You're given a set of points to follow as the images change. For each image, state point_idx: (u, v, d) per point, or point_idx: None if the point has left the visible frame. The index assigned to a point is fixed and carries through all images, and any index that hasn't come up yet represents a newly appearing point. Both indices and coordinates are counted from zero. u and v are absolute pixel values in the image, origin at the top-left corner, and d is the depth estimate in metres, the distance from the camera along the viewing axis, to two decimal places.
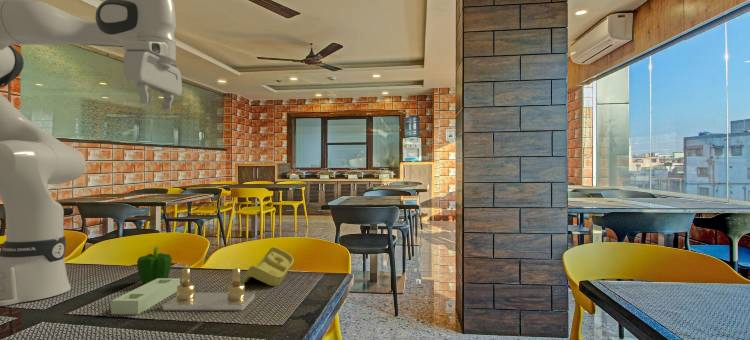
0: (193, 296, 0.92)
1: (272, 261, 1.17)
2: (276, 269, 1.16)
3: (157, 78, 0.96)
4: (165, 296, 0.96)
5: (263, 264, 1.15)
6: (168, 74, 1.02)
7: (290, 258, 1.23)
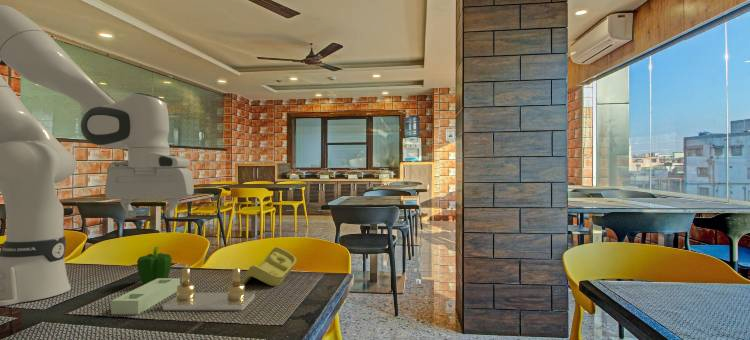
0: (193, 296, 0.92)
1: (274, 261, 1.17)
2: (278, 269, 1.16)
3: None
4: (165, 296, 0.96)
5: (265, 264, 1.15)
6: None
7: (293, 258, 1.23)
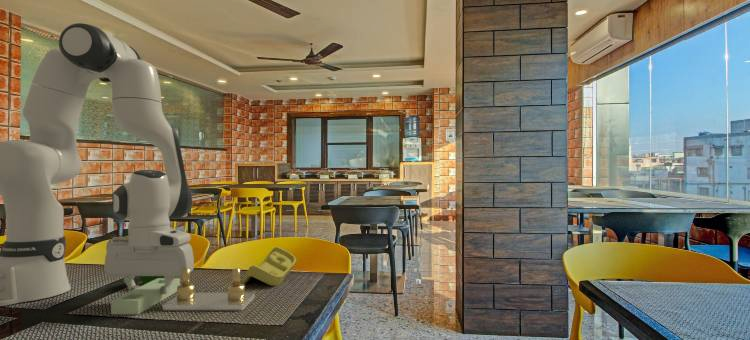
0: (193, 296, 0.92)
1: (274, 261, 1.17)
2: (278, 269, 1.16)
3: None
4: (165, 296, 0.96)
5: (265, 264, 1.15)
6: None
7: (292, 258, 1.23)
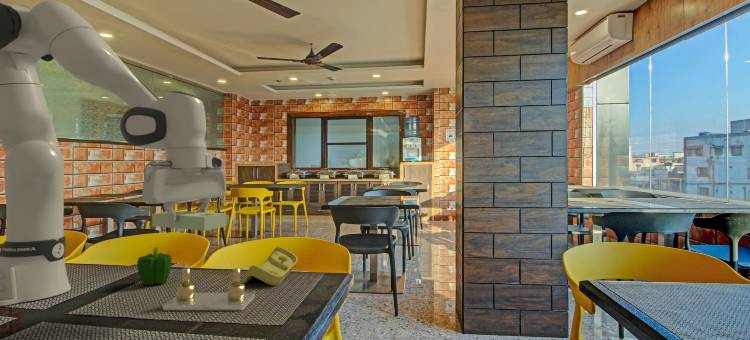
0: (193, 296, 0.92)
1: (275, 261, 1.17)
2: (279, 269, 1.16)
3: None
4: None
5: (266, 263, 1.16)
6: None
7: (294, 258, 1.23)
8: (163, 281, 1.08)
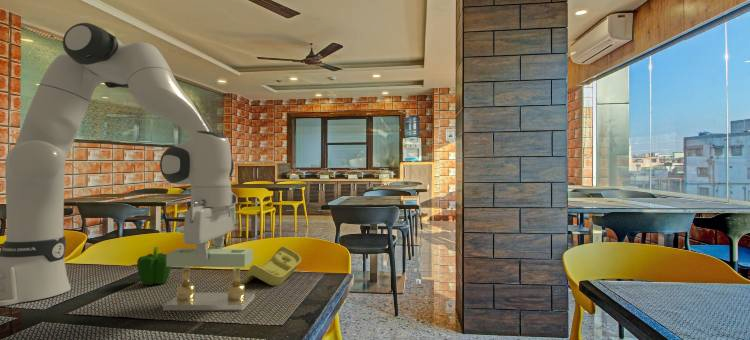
0: (193, 296, 0.92)
1: (278, 260, 1.17)
2: (281, 269, 1.16)
3: None
4: None
5: (269, 263, 1.16)
6: None
7: (298, 258, 1.23)
8: (163, 281, 1.08)
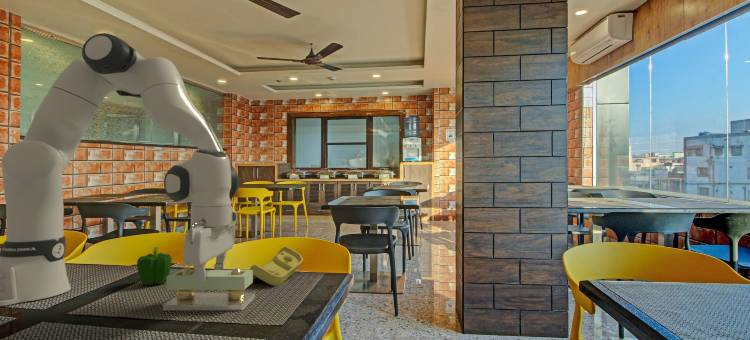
0: (193, 296, 0.92)
1: (280, 260, 1.18)
2: (283, 269, 1.16)
3: None
4: None
5: (270, 263, 1.16)
6: None
7: (300, 258, 1.23)
8: (163, 281, 1.08)
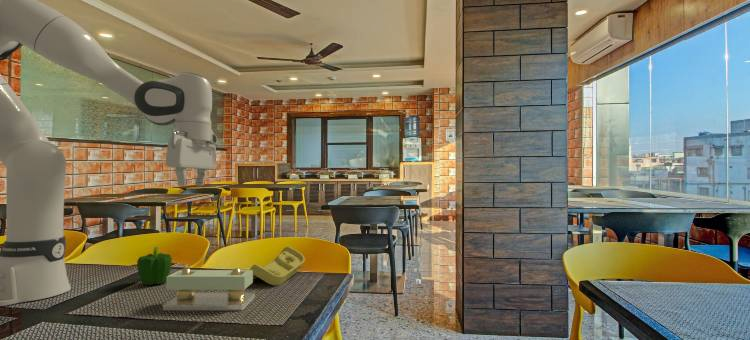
0: (193, 296, 0.92)
1: (281, 260, 1.18)
2: (284, 269, 1.16)
3: None
4: None
5: (272, 263, 1.16)
6: None
7: (302, 258, 1.22)
8: (163, 281, 1.08)
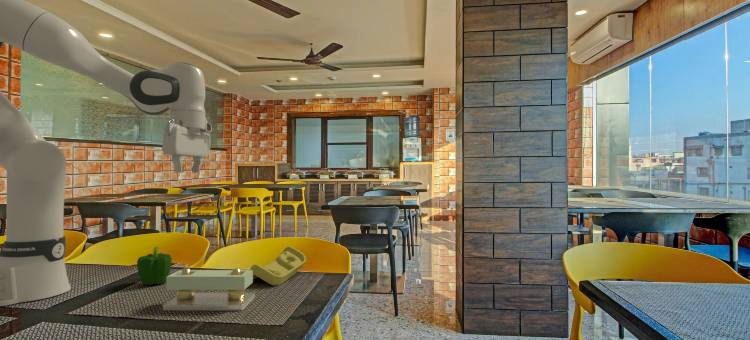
0: (193, 296, 0.92)
1: (282, 260, 1.18)
2: (285, 268, 1.16)
3: None
4: None
5: (273, 263, 1.16)
6: None
7: (303, 258, 1.22)
8: (163, 281, 1.08)
